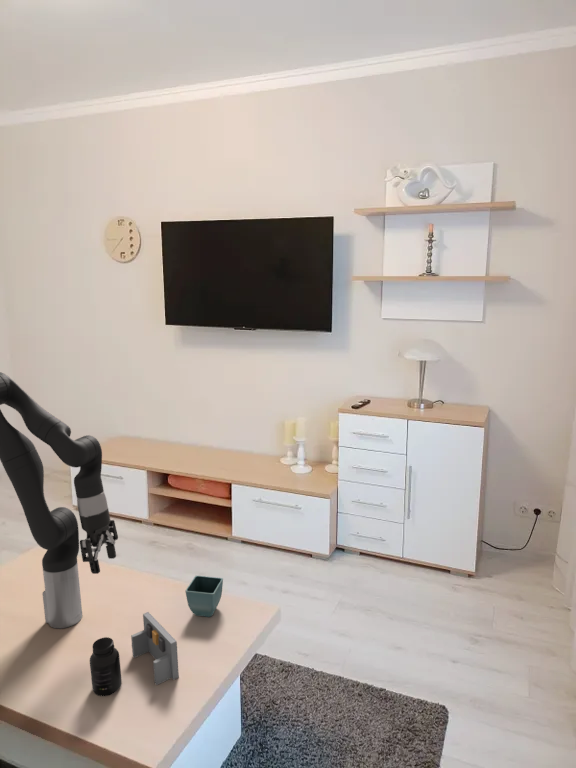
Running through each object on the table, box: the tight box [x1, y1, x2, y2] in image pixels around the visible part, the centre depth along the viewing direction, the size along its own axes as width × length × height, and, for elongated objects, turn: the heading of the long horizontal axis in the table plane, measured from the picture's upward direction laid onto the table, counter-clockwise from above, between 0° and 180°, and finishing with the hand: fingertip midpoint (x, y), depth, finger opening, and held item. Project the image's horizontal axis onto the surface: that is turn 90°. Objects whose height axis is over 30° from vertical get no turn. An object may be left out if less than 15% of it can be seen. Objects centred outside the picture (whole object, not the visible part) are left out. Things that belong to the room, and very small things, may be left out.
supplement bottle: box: [89, 636, 123, 697], centre depth 136 cm, size 7×7×12 cm
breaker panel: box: [130, 611, 180, 686], centre depth 144 cm, size 6×16×10 cm, turn 38°
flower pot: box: [185, 575, 224, 618], centre depth 166 cm, size 9×9×9 cm
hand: (104, 565), depth 156 cm, fingers open, 8 cm apart
